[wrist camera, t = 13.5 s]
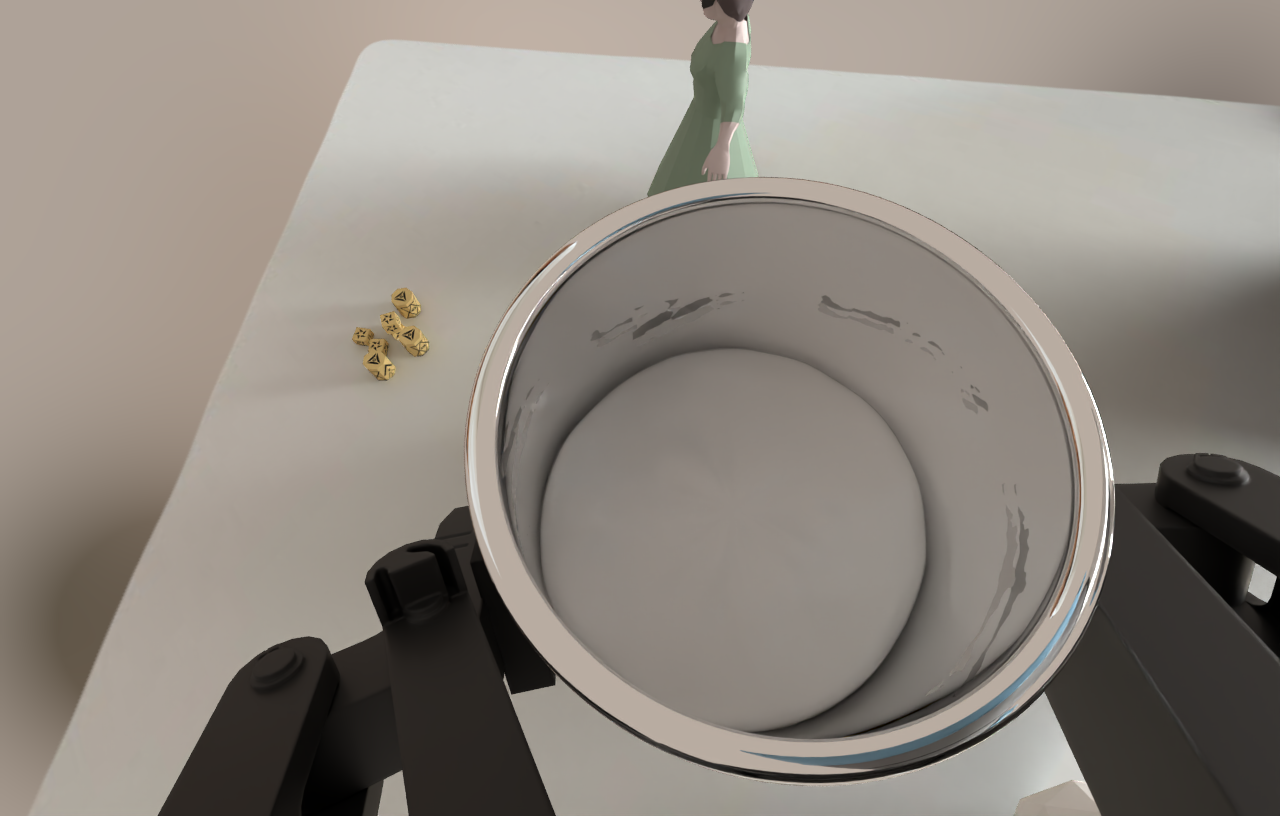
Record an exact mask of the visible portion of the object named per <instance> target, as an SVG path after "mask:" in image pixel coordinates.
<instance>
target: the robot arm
mask: <svg viewBox="0 0 1280 816" xmlns="http://www.w3.org/2000/svg"><path fill="white" fill-rule="evenodd" d="M1114 489H1115V527H1114V538H1113V547H1112V553H1111V559H1110V564H1109V568H1108V573H1107V577H1106V581H1105V584H1104V588H1103V591H1102V594H1101V597H1100V600H1099V603H1098V605H1097V608H1096V610H1095V613H1094V615H1093V617H1092V620H1091V622H1090V624H1089V626H1088V628H1087V630H1086V632H1085V634H1084V636H1083V638H1082V640H1081V642H1080V643H1079V645H1078V647H1077V648H1076V650H1075V652H1074V654H1073V655H1072V657H1071V658H1070V659H1069V661H1068V662H1067V664H1066V665H1065V667H1064V668H1063V669H1062V671H1061V672H1060V673H1059V675H1058V676H1057V677H1056V678H1055V680H1054V681H1053V682H1052V683H1051V684H1050V685H1049V687H1048V688H1047V689H1046V690H1045V694H1046V696H1047V698H1048V700H1049V702H1050V705H1051V707H1052V709H1053V711H1054V713H1055V715H1056V718H1057V720H1058V722H1059V724H1060V726H1061V729H1062V731H1063V733H1064V735H1065V737H1066V740H1067V742H1068V744H1069V746H1070V748H1071V750H1072V753H1073V755H1074V757H1075V759H1076V761H1077V764H1078V766H1079V768H1080V770H1081V772H1082V774H1083V777H1084V779H1085V781H1086V783H1087V785H1088V788H1089V790H1090V792H1091V794H1092V796H1093V798H1094V801H1095V803H1096V805H1097V807H1098V809H1099V812H1100V814H1101V816H1280V477H1279V476H1277V475H1275V474H1273V473H1271V472H1268V471H1266V470H1264V469H1262V468H1260V467H1257V466H1255V465H1252V464H1249V463H1246V462H1244V461H1241V460H1236V459H1232V458H1227V457H1226V456H1223V455H1218V454H1211V455H1209V454H1208V453H1196V454H1184V455H1177V456H1173V457H1169V458H1166V459H1165V460H1164V461H1163V462H1162V463H1161V464H1160V468H1159V473H1158V478H1157V483H1144V484H1114ZM1255 563H1257V564H1258V565H1260V566H1262V567H1263V568H1265V569H1266V570H1268V571H1269V572H1271V573H1273V574H1274V575H1276V576H1277V578H1276V582H1275V585H1274V589H1273V592H1272V595H1271V598H1270V600H1269V601H1268V603H1266V602H1264V601H1262V600H1260V599H1258V598H1257V597H1255V596H1254V595H1253V594H1251V593H1250V592H1248V588H1249V584H1250V581H1251V577H1252V573H1253V570H1254V566H1255ZM365 585H366V587H367V590H368V592H369V595H370V597H371V600H372V602H373V605H374V607H375V609H376V612H377V614H378V617H379V619H380V622H381V624H382V628H383V631H382V632H380V633H378V634H377V635H375V636H373V637H371V638H369V639H367V640H365V641H362V642H360V643H358V644H355V645H353V646H351V647H348V648H346V649H343V650H341V651H339V652H336V653H334V654H331V653H330V651H329V649H328V646H327V645H326V644H325V643H324V642H323V640H322V639H320V638H315V637H310V636H308V637H301V638H295V639H291V640H288V641H286V642H283V643H280V644H277V645H274V646H272V647H270V648H268V650H266V651H263V652H262V653H260V654H259V655H257V656H256V657H255V658H253V659H252V660H251V661H250V662H249V663H247V664H246V665H245V666H244V667H243V668H241V669H240V670H239V671H238V673H237V674H236V675H235V677H234V678H233V679H232V681H231V682H230V683H229V685H228V687H227V688H226V690H225V692H224V694H223V696H222V698H221V700H220V701H219V703H218V705H217V707H216V709H215V711H214V712H213V714H212V716H211V718H210V720H209V722H208V724H207V725H206V727H205V729H204V731H203V733H202V735H201V737H200V738H199V740H198V742H197V744H196V746H195V748H194V750H193V751H192V753H191V755H190V757H189V759H188V761H187V762H186V764H185V766H184V768H183V770H182V772H181V774H180V775H179V777H178V779H177V781H176V783H175V785H174V787H173V788H172V790H171V792H170V794H169V796H168V798H167V800H166V801H165V803H164V805H163V807H162V809H161V811H160V812H159V814H158V816H377V815H378V809H379V804H380V798H381V793H382V787H383V782H384V781H383V780H384V779H386V778H387V777H389V776H391V775H393V774H395V773H397V772H399V771H401V770H403V777H404V785H405V792H406V799H407V806H408V813H409V816H556V815H555V812H554V810H553V807H552V805H551V802H550V800H549V797H548V794H547V792H546V789H545V787H544V784H543V782H542V779H541V776H540V774H539V771H538V769H537V766H536V764H535V761H534V759H533V756H532V753H531V751H530V748H529V746H528V743H527V741H526V738H525V735H524V733H523V730H522V728H521V725H520V723H519V720H518V717H517V715H516V712H515V710H514V707H513V705H512V702H511V699H510V697H509V694H508V692H507V689H506V687H505V684H504V681H503V678H504V673H505V676H506V679H507V682H508V685H509V688H510V692H511V694H516V693H521V692H525V691H530V690H535V689H539V688H544V687H549V686H553V685H555V678H556V674H555V673H554V672H553V671H552V670H551V668H550V667H549V666H548V665H547V664H546V663H545V662H544V661H543V659H542V658H541V657H540V656H539V655H538V654H537V652H536V651H535V650H534V649H533V647H532V646H531V645H530V643H529V642H528V641H527V639H526V638H525V637H524V635H523V634H522V632H521V631H520V629H519V628H518V626H517V625H516V623H515V622H514V620H513V619H512V617H511V615H510V614H509V612H508V610H507V609H506V607H505V605H504V603H503V602H502V600H501V598H500V596H499V594H498V592H497V590H496V588H495V586H494V584H493V582H492V580H491V577H490V575H489V573H488V570H487V568H486V565H485V563H484V560H483V557H482V554H481V552H480V549H479V546H478V542H477V539H476V535H475V532H474V528H473V524H472V520H471V516H470V510H469V506H465V507H460V508H455V509H454V510H453V511H452V512H451V513H450V514H449V515H448V516H447V517H446V518H445V519H444V520H443V521H442V522H441V523H440V525H439V528H438V531H437V533H436V536H435V539H429V540H420V541H417V542H413V543H410V544H406V545H404V546H402V547H400V548H397V549H395V550H393V551H391V552H389V553H388V554H386V555H385V556H384V557H382V558H381V559H379V560H378V561H377V562H376V563H375V564H374V565H373V566H372V567H371V569H370V570H369V571H368V572H367V575H366V579H365Z"/></svg>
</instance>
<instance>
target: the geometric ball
mask: <svg viewBox="0 0 1280 816" xmlns="http://www.w3.org/2000/svg"><path fill="white" fill-rule="evenodd" d="M1014 816H1101V814H1100V812H1099V809H1098V807H1097V805H1096V803H1095V801H1094V798H1093V796H1092V794H1091V792H1090V790H1089V788H1088V785H1087V783H1086V782H1081V781H1075V780H1071V781H1068V782H1065V783H1063V784H1060V785H1057V786H1054V787H1052V788H1049V789H1046V790H1043V791H1041V792H1038V793H1035V794H1032V795H1030V796H1027V797H1024V798H1021V799H1020V800H1019V803H1018V806H1017V808H1016V811H1015V814H1014Z"/></svg>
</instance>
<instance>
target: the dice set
mask: <svg viewBox="0 0 1280 816" xmlns="http://www.w3.org/2000/svg"><path fill="white" fill-rule="evenodd" d="M392 303H393V304H394V306H395V307H396V308H397V310H398V311H399V312H400V314H401V315H402V316H404V317H405V318H407V319H408V318H415V317H416V316H417V315H418V314H419V313H420V312H421V305H420V303H419V302H418V300H417V299H416V297H415V296H414V294H413V293H412V291H410V290H408V289H407V288H401V289H397V290H396V291H395V292H394V293H393V294H392ZM380 318H381V323H382V327H383V328H384V330H385V331H386V332H387V333H388V334H391V335H392V336H393V337H394V338H395V339H396V340H397V339H398V338H399V341H400V342H401V343H402V345H403V346H404V347H405V348H406V350H407V351H408V352H409V353H410V354H412V355H413V356H414V357H416V356H423V355H424V354H425V353H426V352H427V351H428V350H429V342H428V341H427V339H426V338H425V336H424V335H423V334H422V332H421V331H420V330H419V329H418V328H416V327H415V326H409V327H404V326H403V325H402V324H401V322H400V318H399V317H398V316H397V314H396V313H395V312H394V311H393V312H389V313H386V314H383V315H380ZM373 336H374V333H373V332H372V331H371V330H370V329H365V328H358V327H357V328H356V331H355V333H354V335H353V338H352V340H353V341H354V342H355V343H356V344H358V345H365V346H369V350H368V352H369V353H368V354H366V355H365V356H364V360H363V365H364V366H365V367H366V368H367V369H368V370H369V371H370V372H371V373H372V374H373V375H374V376H375V377H376V378H377V379H378V380H388V379H389V378H391V377H392V376H393V375H394V373H395V366H394V365H393V364H392V363H391V362H390V361H389V359H388V358H387V357H386V356H387V351H388V346H389V343H388V342H387V341H386V340H385V339H373Z"/></svg>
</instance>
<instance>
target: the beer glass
mask: <svg viewBox="0 0 1280 816" xmlns="http://www.w3.org/2000/svg"><path fill="white" fill-rule="evenodd" d="M464 469H465V483H466V491H467V499H468V505H469V510H470V516H471V520H472V524H473V528H474V532H475V535H476V539H477V542H478V546H479V549H480V552H481V554H482V557H483V560H484V563H485V565H486V568H487V570H488V573H489V575H490V577H491V580H492V582H493V584H494V586H495V588H496V590H497V592H498V594H499V596H500V598H501V600H502V602H503V603H504V605H505V607H506V609H507V610H508V612H509V614H510V615H511V617H512V619H513V620H514V622H515V623H516V625H517V626H518V628H519V629H520V631H521V632H522V634H523V635H524V637H525V638H526V639H527V641H528V642H529V643H530V645H531V646H532V647H533V649H534V650H535V651H536V652H537V654H538V655H539V656H540V657H541V658H542V659H543V661H544V662H545V663H546V664H547V665H548V666H549V667H550V668H551V670H552V671H553V672H554V673H555V674H556V675H557V676H558V677H559V678H560V679H561V680H562V681H563V682H564V683H565V684H566V685H567V686H568V687H569V688H570V689H571V690H572V691H573V692H575V693H576V694H577V695H578V696H579V697H580V698H582V699H583V700H584V701H585V702H586V703H587V704H589V705H590V706H591V707H593V708H594V709H595V710H596V711H598V712H599V713H600V714H602V715H603V716H604V717H606V718H607V719H609V720H610V721H612V722H613V723H614V724H616V725H617V726H619V727H620V728H622V729H624V730H625V731H627V732H628V733H630V734H632V735H633V736H635V737H637V738H638V739H640V740H642V741H644V742H646V743H648V744H649V745H651V746H653V747H655V748H657V749H659V750H661V751H664V752H666V753H668V754H670V755H672V756H675V757H677V758H680V759H682V760H684V761H687V762H689V763H692V764H695V765H698V766H700V767H703V768H706V769H709V770H713V771H716V772H720V773H723V774H727V775H731V776H735V777H739V778H743V779H748V780H754V781H759V782H765V783H774V784H782V785H794V786H841V785H852V784H862V783H868V782H874V781H880V780H885V779H889V778H894V777H898V776H902V775H906V774H909V773H913V772H916V771H919V770H922V769H925V768H928V767H930V766H933V765H936V764H938V763H941V762H943V761H945V760H948V759H950V758H952V757H955V756H957V755H959V754H961V753H963V752H965V751H967V750H969V749H971V748H973V747H974V746H976V745H978V744H979V743H981V742H983V741H984V740H986V739H988V738H989V737H991V736H992V735H994V734H995V733H997V732H998V731H999V730H1001V729H1002V728H1004V727H1005V726H1006V725H1008V724H1009V723H1010V722H1012V721H1013V720H1014V719H1016V718H1017V717H1018V716H1019V715H1020V714H1021V713H1023V712H1024V711H1025V710H1026V709H1027V708H1028V707H1029V706H1030V705H1031V704H1032V703H1033V702H1034V701H1036V700H1037V699H1038V698H1039V697H1040V696H1041V695H1042V693H1043V692H1044V691H1045V690H1046V689H1047V688H1048V687H1049V685H1050V684H1051V683H1052V682H1053V681H1054V680H1055V678H1056V677H1057V676H1058V675H1059V673H1060V672H1061V671H1062V669H1063V668H1064V667H1065V665H1066V664H1067V662H1068V661H1069V659H1070V658H1071V657H1072V655H1073V654H1074V652H1075V650H1076V648H1077V647H1078V645H1079V643H1080V642H1081V640H1082V638H1083V636H1084V634H1085V632H1086V630H1087V628H1088V626H1089V624H1090V622H1091V620H1092V617H1093V615H1094V613H1095V610H1096V608H1097V605H1098V603H1099V600H1100V597H1101V594H1102V591H1103V588H1104V584H1105V581H1106V577H1107V573H1108V568H1109V564H1110V559H1111V553H1112V547H1113V538H1114V527H1115V489H1114V477H1113V468H1112V462H1111V456H1110V451H1109V446H1108V442H1107V438H1106V434H1105V430H1104V426H1103V423H1102V420H1101V416H1100V413H1099V410H1098V407H1097V405H1096V402H1095V400H1094V397H1093V394H1092V392H1091V390H1090V387H1089V385H1088V383H1087V381H1086V379H1085V377H1084V375H1083V373H1082V371H1081V369H1080V367H1079V365H1078V363H1077V361H1076V359H1075V358H1074V356H1073V354H1072V352H1071V351H1070V349H1069V347H1068V346H1067V344H1066V343H1065V341H1064V339H1063V338H1062V336H1061V335H1060V334H1059V332H1058V331H1057V329H1056V328H1055V326H1054V325H1053V324H1052V322H1051V321H1050V320H1049V318H1048V317H1047V316H1046V315H1045V313H1044V312H1043V311H1042V310H1041V308H1040V307H1039V306H1038V305H1037V304H1036V302H1035V301H1034V300H1033V299H1032V298H1031V297H1030V296H1029V295H1028V294H1027V293H1026V291H1025V290H1024V289H1023V288H1022V287H1021V286H1020V285H1019V284H1018V283H1017V282H1016V281H1015V280H1014V279H1013V278H1012V277H1011V276H1010V275H1009V274H1007V273H1006V272H1005V271H1004V270H1003V269H1002V268H1001V267H1000V266H998V265H997V264H996V263H995V262H994V261H992V260H991V259H990V258H989V257H987V256H986V255H985V254H984V253H982V252H981V251H980V250H978V249H977V248H976V247H974V246H973V245H971V244H970V243H968V242H967V241H966V240H964V239H963V238H961V237H960V236H958V235H956V234H955V233H953V232H952V231H950V230H948V229H947V228H945V227H943V226H942V225H940V224H938V223H936V222H934V221H932V220H931V219H929V218H927V217H925V216H923V215H921V214H919V213H917V212H914V211H912V210H910V209H908V208H906V207H903V206H901V205H899V204H896V203H894V202H891V201H888V200H886V199H883V198H880V197H877V196H874V195H871V194H868V193H865V192H861V191H858V190H854V189H850V188H846V187H842V186H838V185H833V184H828V183H823V182H817V181H810V180H803V179H792V178H777V177H746V178H731V179H722V180H714V181H708V182H702V183H697V184H692V185H687V186H683V187H679V188H675V189H671V190H668V191H665V192H661V193H658V194H655V195H652V196H650V197H647V198H645V199H642V200H639V201H637V202H635V203H632V204H630V205H628V206H626V207H624V208H621V209H619V210H617V211H615V212H613V213H611V214H610V215H608V216H606V217H604V218H602V219H601V220H599V221H597V222H596V223H594V224H593V225H591V226H589V227H588V228H586V229H585V230H583V231H582V232H581V233H579V234H578V235H576V236H575V237H574V238H572V239H571V240H570V241H568V242H567V243H566V244H565V245H563V246H562V247H561V248H560V249H559V250H558V251H556V252H555V253H554V254H553V255H552V256H551V257H550V258H549V259H548V260H547V261H546V262H545V263H544V264H543V265H542V266H541V267H540V268H539V269H538V270H537V271H536V272H535V273H534V274H533V275H532V276H531V277H530V279H529V280H528V281H527V282H526V283H525V285H524V286H523V287H522V288H521V290H520V291H519V292H518V294H517V295H516V296H515V298H514V299H513V300H512V302H511V303H510V305H509V306H508V308H507V309H506V311H505V312H504V314H503V316H502V318H501V319H500V321H499V323H498V325H497V326H496V328H495V330H494V332H493V334H492V336H491V338H490V340H489V342H488V345H487V347H486V349H485V352H484V354H483V357H482V359H481V362H480V365H479V368H478V370H477V374H476V377H475V381H474V384H473V388H472V392H471V396H470V401H469V407H468V413H467V420H466V428H465V442H464Z"/></svg>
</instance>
